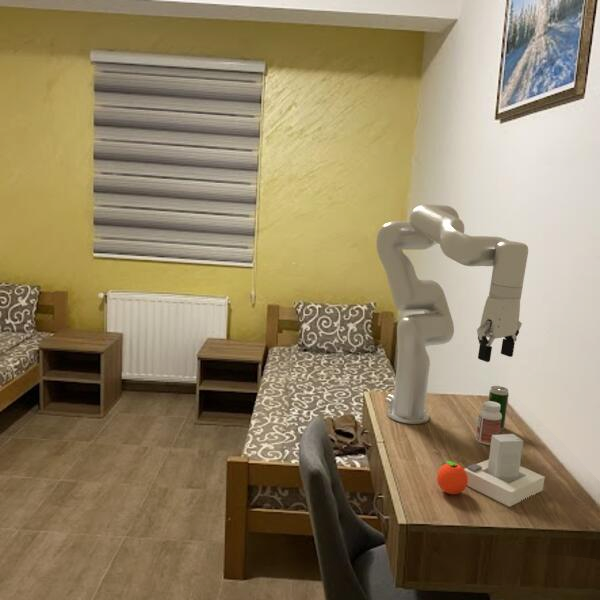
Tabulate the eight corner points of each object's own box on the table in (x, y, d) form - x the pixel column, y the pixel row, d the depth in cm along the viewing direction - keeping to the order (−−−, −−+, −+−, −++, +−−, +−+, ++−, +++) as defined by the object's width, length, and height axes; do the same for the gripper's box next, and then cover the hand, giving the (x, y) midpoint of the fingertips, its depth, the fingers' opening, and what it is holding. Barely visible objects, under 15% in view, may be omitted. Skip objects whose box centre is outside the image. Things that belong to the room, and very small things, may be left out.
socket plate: (461, 482, 150) (463, 466, 150) (495, 468, 159) (497, 453, 158) (509, 506, 141) (511, 490, 140) (542, 490, 149) (545, 474, 149)
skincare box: (507, 479, 153) (513, 433, 150) (517, 488, 148) (524, 440, 146) (484, 481, 151) (491, 434, 149) (494, 489, 147) (501, 441, 145)
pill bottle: (503, 443, 175) (508, 406, 173) (488, 447, 172) (493, 409, 170) (485, 435, 180) (490, 398, 178) (470, 438, 177) (475, 401, 175)
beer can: (490, 431, 183) (496, 392, 181) (481, 423, 189) (486, 385, 186) (507, 430, 185) (512, 391, 182) (497, 423, 190) (503, 385, 187)
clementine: (427, 484, 148) (430, 456, 147) (451, 481, 151) (455, 453, 149) (446, 501, 141) (450, 472, 140) (472, 497, 144) (475, 469, 142)
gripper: (512, 286, 163) (502, 349, 167) (471, 290, 152) (461, 358, 156) (538, 292, 158) (527, 357, 161) (498, 297, 147) (487, 367, 151)
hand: (495, 357), depth 159 cm, fingers open, 9 cm apart
